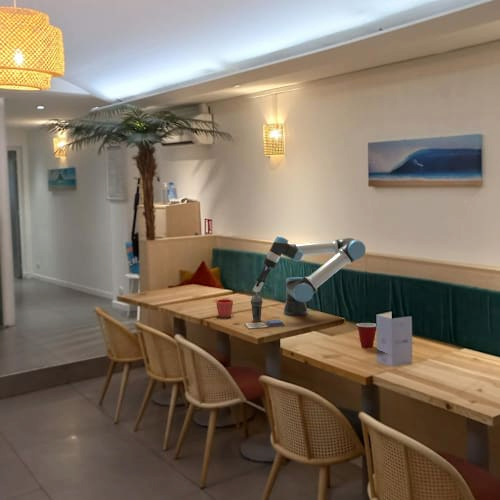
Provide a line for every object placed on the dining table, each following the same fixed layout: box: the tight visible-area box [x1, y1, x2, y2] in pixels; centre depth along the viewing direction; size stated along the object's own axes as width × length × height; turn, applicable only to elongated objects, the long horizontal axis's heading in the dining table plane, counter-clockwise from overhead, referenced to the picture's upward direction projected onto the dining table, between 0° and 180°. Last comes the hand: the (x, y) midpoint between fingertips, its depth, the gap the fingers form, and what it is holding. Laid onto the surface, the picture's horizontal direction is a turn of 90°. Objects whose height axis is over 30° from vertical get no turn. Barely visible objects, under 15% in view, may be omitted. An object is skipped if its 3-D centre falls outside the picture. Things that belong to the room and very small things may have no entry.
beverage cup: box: [250, 292, 263, 322], centre depth 384 cm, size 7×7×20 cm
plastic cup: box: [356, 322, 377, 349], centre depth 322 cm, size 11×11×12 cm
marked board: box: [244, 322, 270, 330], centre depth 370 cm, size 12×12×1 cm
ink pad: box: [265, 319, 285, 328], centre depth 373 cm, size 9×9×2 cm
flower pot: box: [215, 299, 234, 318], centre depth 398 cm, size 11×11×10 cm
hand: (255, 291), depth 383 cm, fingers open, 13 cm apart
